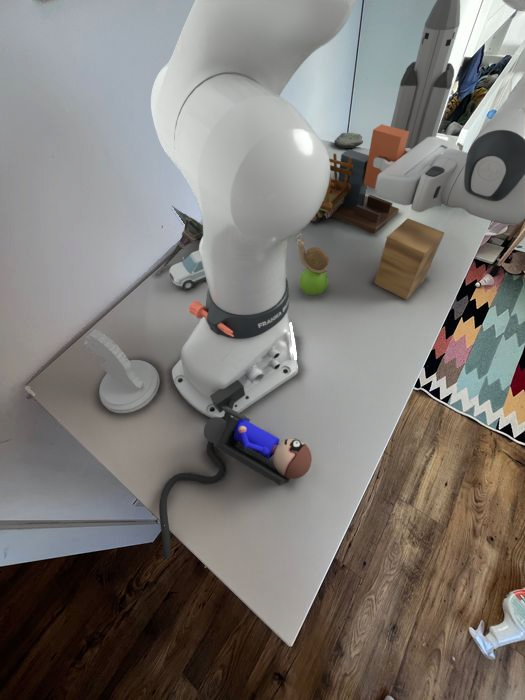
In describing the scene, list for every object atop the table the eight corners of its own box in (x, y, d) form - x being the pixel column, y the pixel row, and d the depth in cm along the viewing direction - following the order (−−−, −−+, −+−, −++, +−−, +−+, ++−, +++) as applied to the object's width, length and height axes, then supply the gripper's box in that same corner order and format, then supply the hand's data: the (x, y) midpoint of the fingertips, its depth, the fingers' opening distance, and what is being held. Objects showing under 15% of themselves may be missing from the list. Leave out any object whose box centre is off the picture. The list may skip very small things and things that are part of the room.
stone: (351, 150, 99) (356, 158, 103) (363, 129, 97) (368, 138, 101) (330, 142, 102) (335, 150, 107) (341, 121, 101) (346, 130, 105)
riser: (406, 299, 65) (424, 252, 56) (374, 283, 68) (387, 236, 59) (424, 280, 68) (444, 232, 59) (392, 265, 71) (407, 217, 62)
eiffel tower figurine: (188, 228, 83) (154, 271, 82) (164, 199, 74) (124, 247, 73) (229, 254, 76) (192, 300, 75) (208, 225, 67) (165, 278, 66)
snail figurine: (302, 277, 70) (304, 226, 61) (331, 287, 68) (338, 235, 58) (289, 293, 68) (290, 243, 58) (319, 304, 65) (324, 254, 56)
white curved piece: (128, 354, 61) (89, 295, 49) (171, 375, 58) (140, 317, 46) (88, 398, 56) (34, 344, 44) (132, 423, 53) (87, 373, 41)
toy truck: (265, 183, 92) (260, 121, 80) (349, 209, 83) (358, 143, 71) (241, 203, 88) (233, 141, 76) (327, 233, 78) (333, 167, 66)
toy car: (169, 278, 72) (162, 259, 68) (223, 256, 75) (220, 237, 71) (179, 294, 69) (172, 276, 65) (235, 271, 72) (232, 252, 68)
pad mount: (374, 234, 77) (387, 180, 67) (324, 213, 83) (329, 159, 73) (397, 214, 81) (413, 159, 71) (348, 195, 87) (356, 142, 77)
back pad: (387, 193, 72) (401, 137, 64) (363, 184, 75) (373, 129, 66) (394, 187, 74) (409, 131, 65) (370, 179, 76) (381, 124, 67)
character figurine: (229, 413, 54) (314, 463, 48) (200, 451, 50) (289, 510, 44) (224, 386, 47) (321, 440, 42) (190, 426, 44) (293, 491, 38)
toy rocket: (375, 183, 89) (415, -9, 61) (381, 167, 93) (422, -19, 65) (421, 190, 86) (486, -10, 57) (425, 173, 90) (488, -20, 62)
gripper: (477, 137, 65) (411, 121, 71) (424, 183, 57) (355, 160, 63) (464, 170, 70) (403, 152, 76) (413, 217, 62) (350, 192, 68)
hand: (381, 156), depth 70 cm, fingers closed on back pad, 3 cm apart
